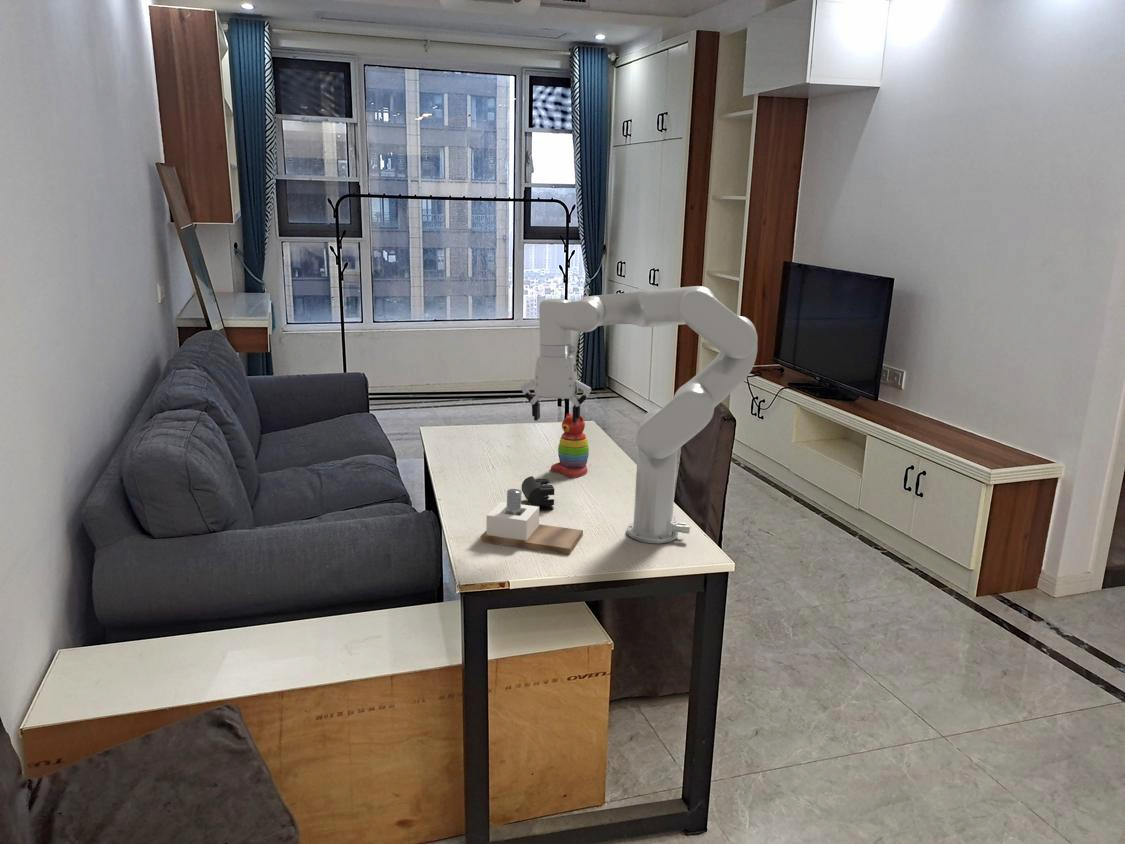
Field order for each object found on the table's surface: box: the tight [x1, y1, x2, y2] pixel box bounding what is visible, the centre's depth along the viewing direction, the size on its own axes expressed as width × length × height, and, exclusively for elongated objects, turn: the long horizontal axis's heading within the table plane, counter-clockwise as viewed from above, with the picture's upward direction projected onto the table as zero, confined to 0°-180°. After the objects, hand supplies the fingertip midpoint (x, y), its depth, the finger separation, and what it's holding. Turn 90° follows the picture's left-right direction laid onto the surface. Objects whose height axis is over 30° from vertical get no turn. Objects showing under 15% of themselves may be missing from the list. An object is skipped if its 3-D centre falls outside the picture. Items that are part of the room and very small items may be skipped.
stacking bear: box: [550, 413, 590, 479], centre depth 251 cm, size 11×10×18 cm
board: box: [480, 523, 584, 555], centre depth 201 cm, size 22×12×2 cm, turn 74°
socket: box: [485, 501, 540, 541], centre depth 201 cm, size 10×10×5 cm
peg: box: [506, 488, 522, 516], centre depth 201 cm, size 3×3×10 cm
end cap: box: [520, 475, 555, 512], centre depth 223 cm, size 10×7×7 cm
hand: (556, 420), depth 203 cm, fingers open, 9 cm apart
